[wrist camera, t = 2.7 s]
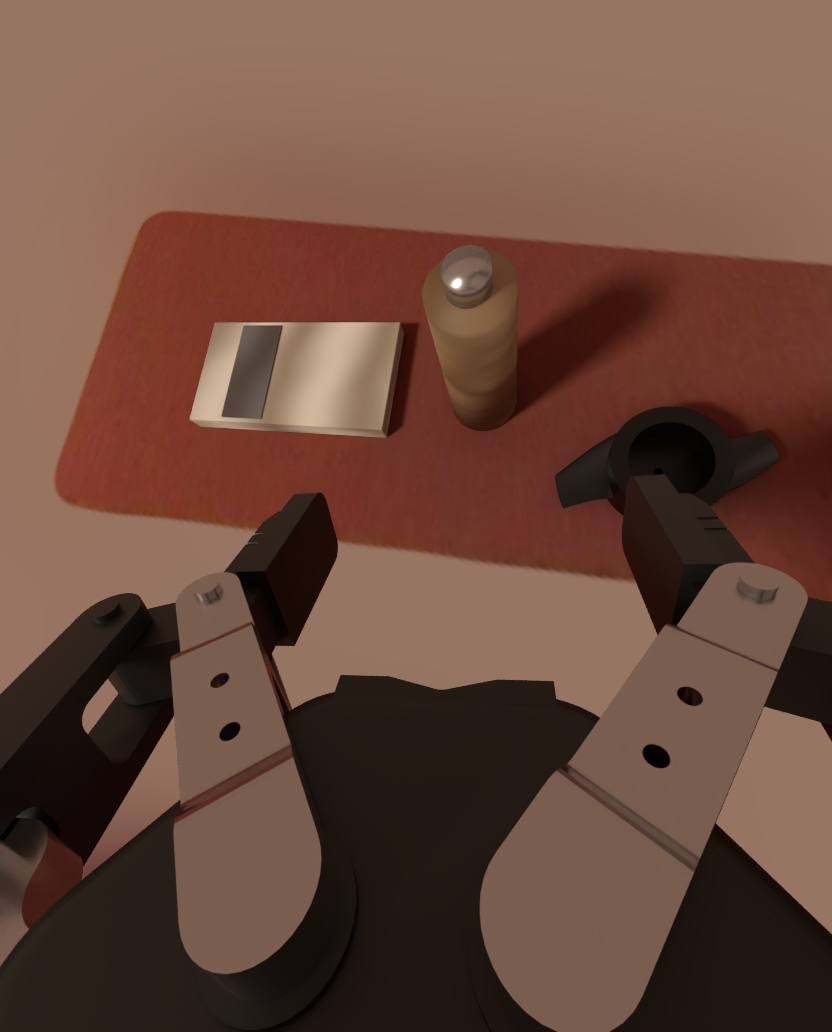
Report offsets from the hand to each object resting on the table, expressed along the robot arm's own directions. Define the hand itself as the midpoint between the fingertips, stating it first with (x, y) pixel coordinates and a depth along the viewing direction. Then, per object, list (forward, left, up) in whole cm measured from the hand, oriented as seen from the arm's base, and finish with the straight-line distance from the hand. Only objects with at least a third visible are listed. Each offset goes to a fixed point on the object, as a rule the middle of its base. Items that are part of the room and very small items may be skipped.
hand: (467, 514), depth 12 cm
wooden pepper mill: (+2, -11, -14) cm, 18 cm away
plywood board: (+15, -12, -14) cm, 24 cm away
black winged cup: (-8, -6, -15) cm, 18 cm away
